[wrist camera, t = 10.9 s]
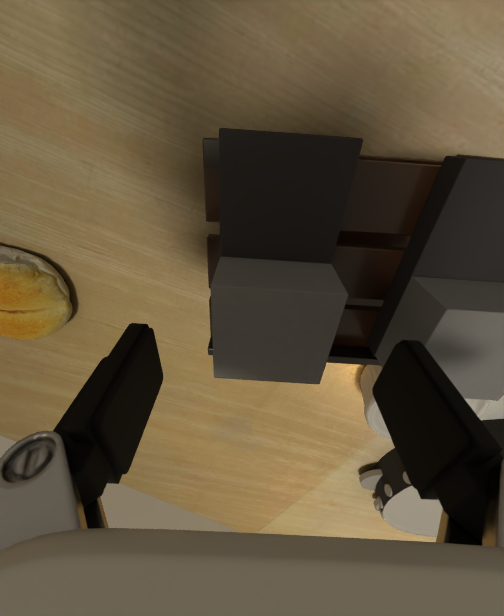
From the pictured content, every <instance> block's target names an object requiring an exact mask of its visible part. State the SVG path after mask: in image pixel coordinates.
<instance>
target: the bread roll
mask: <svg viewBox="0 0 504 616" xmlns="http://www.w3.org/2000/svg"><path fill="white" fill-rule="evenodd" d="M71 314H72V304H71V302H70V300H69V289H68V287H67V285H66V283H65V282H64V280H63V278H62V276H61V275H60V274H59V273H58V272H57V271H56V270H55V269H54V268H53V266H51V265H50V264H48V263H47V262H46V261H44V260H43V259H41V258H39V257H37V256H34V255H32V254H29V253H26V252H24V251H22V250H19V249H14V248H9V247H5V246H0V334H1V335H4V336H7V337H11V338H16V339H22V340H32V339H39V338H43V337H45V336H48V335H50V334H52V333H54V332H56V331H58V330H59V329H60V328H62V327H63V326H64V325H65V324H66V323H67V321H68V320H69V318H70V316H71Z"/></svg>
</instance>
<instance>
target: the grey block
mask: <svg viewBox="0 0 504 616" xmlns="http://www.w3.org/2000/svg"><path fill="white" fill-rule="evenodd" d="M401 340H416V341H420V342H421V343H422V344H423V345H424V346H425V347H426V349H427V350H428V351H429V353H430V354H431V355H432V357H433V358H434V359H435V361H436V362H437V363H438V365H439V366H440V367H441V369H442V370H443V371H444V373H445V374H446V375H447V377H448V378H449V379H450V380H451V382H452V383H453V384H454V386H455V387H456V388H457V390H458V391H459V392H460V394H461V395H462V396H463V398H464V399H480V400H496V401H498V400H499V399H500V398H501V397H502V396H503V395H504V160H496V159H483V158H469V157H455V156H446V157H445V158H444V161H443V163H442V165H441V168H440V170H439V173H438V175H437V177H436V180H435V182H434V184H433V187H432V189H431V191H430V194H429V196H428V198H427V201H426V203H425V206H424V208H423V210H422V213H421V215H420V217H419V220H418V222H417V224H416V227H415V229H414V231H413V234H412V236H411V239H410V241H409V243H408V246H407V248H406V250H405V253H404V255H403V257H402V260H401V262H400V264H399V267H398V269H397V272H396V274H395V276H394V279H393V281H392V283H391V286H390V288H389V290H388V293H387V295H386V297H385V300H384V302H383V305H382V307H381V309H380V312H379V314H378V316H377V319H376V321H375V323H374V326H373V328H372V330H371V333H370V335H369V338H368V340H367V344H368V346H369V348H370V350H371V352H372V354H373V356H374V357H377V359H378V361H379V363H380V365H381V367H382V368H383V367H384V365H385V363H386V361H387V359H388V357H389V355H390V354H391V352H392V350H393V348H394V346H395V345H396V344H397V343H399V342H400V341H401Z"/></svg>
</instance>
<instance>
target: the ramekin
mask: <svg viewBox="0 0 504 616" xmlns="http://www.w3.org/2000/svg"><path fill="white" fill-rule="evenodd" d="M381 370H382V367H381V366H376V365H367V366H366V367H365V369H364V371H363V373H362V375H361V379H360V381H361V382H360V385H361V390H362V395H363V401H364V405H365V406H364V414H365V418H366V420H367V423H368V425H369V427H370V428H371V429H372V430H373V431H374V432H376V433H377V434H379V435H381V436H383V437H386V438H389V439H391V436H390V434H389V432H388V429H387V427H386V425H385V422H384V420H383V418H382V415H381V413H380V411H379V408H378V406H377V403H376V401H375V399H374V396H373V393H372V388H373V385H374V383H375V382H376V380H377V378H378V376H379V374H380V372H381ZM465 400H466V402H467V403H468V404H469V406H470V407H471V408H472V410H473V411H474V412H475V413H476V415H477V416H478V417H479V416H480V415H481V414H482V413H483V412H484V411H485V410H486V408H487V407H488V405H489V403H490V400H480V399H465Z"/></svg>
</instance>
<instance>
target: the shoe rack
mask: <svg viewBox="0 0 504 616" xmlns="http://www.w3.org/2000/svg"><path fill="white" fill-rule="evenodd" d="M456 157H469V158H483V159H496V160H504V158H493V157H482V156H471V155H457V156H456ZM203 162H204V185H205V209H206V221H207V222H220V175H219V138H203ZM442 163H443V161H435V160H421V159H408V158H394V157H380V156H366V155H359V158H358V162H357V166H356V170H355V174H354V177H353V181H352V185H351V189H350V193H349V197H348V201H347V205H346V208H345V212H344V216H343V220H342V224H341V228H340V232H339V236H338V239H337V243H336V247H335V251H334V255H333V259H332V263H331V264H332V266H333V268H334V270H335V271H336V273H337V275H338V277H339V279H340V280H341V282H342V284H343V286H344V288H345V289H346V291H347V293H348V297H347V300H346V303H345V307H344V310H343V313H342V316H341V319H340V322H339V325H338V328H337V331H336V334H335V337H334V341H333V344H332V347H331V350H330V353H329V356H328V359H327V362H329V363H345V364H360V365H376V366H381V365H380V363H379V361H378V359H377V357H374V356H373V354H372V352H371V350H370V348H369V346H368V344H367V340H368V338H369V335H370V333H371V330H372V328H373V326H374V323H375V321H376V319H377V316H378V314H379V312H380V309H381V307H382V305H383V302H384V300H385V297H386V295H387V293H388V290H389V288H390V286H391V283H392V281H393V279H394V276H395V274H396V272H397V269H398V267H399V264H400V262H401V260H402V257H403V255H404V253H405V250H406V248H407V246H408V243H409V241H410V239H411V236H412V234H413V231H414V229H415V227H416V224H417V222H418V220H419V217H420V215H421V213H422V210H423V208H424V206H425V203H426V201H427V198H428V196H429V194H430V191H431V189H432V187H433V184H434V182H435V180H436V177H437V175H438V173H439V170H440V168H441V165H442ZM207 257H208V281H209V288H210V289H211V283H212V280H213V277H214V274H215V271H216V268H217V265H218V262H219V259H220V235H217V234H208V236H207ZM209 306H210V330H211V338H210V342H209V346H208V355H213V338H212V311H211V296H210V299H209Z"/></svg>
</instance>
